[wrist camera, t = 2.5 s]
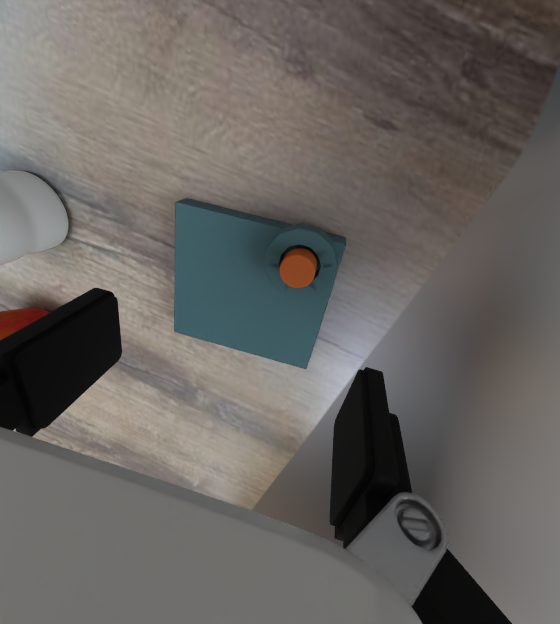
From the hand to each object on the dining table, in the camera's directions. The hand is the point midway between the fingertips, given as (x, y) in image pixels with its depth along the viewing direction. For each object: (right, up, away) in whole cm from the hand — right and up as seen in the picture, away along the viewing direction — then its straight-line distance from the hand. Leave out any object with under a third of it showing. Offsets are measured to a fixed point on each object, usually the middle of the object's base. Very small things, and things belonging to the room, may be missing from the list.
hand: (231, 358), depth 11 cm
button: (+3, +5, +12) cm, 13 cm away
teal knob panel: (-1, +4, +17) cm, 17 cm away
